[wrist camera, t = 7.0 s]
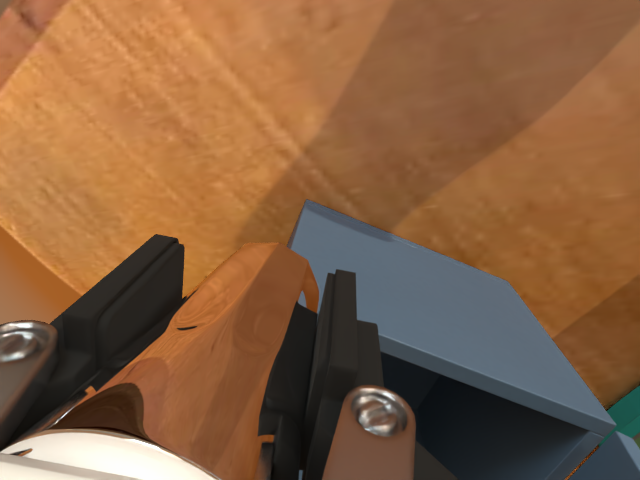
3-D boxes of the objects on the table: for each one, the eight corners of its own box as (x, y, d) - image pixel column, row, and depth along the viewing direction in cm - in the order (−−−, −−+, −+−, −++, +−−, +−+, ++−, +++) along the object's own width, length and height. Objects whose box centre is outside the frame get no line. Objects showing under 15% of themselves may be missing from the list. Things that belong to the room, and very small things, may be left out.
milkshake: (296, 171, 11) (-58, 574, 2) (362, 327, 13) (317, 940, 4) (163, 223, 13) (-431, 623, 3) (239, 360, 14) (-26, 888, 5)
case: (245, 347, 33) (187, 503, 21) (306, 198, 28) (275, 294, 16) (419, 411, 34) (456, 590, 23) (508, 281, 29) (618, 425, 17)
